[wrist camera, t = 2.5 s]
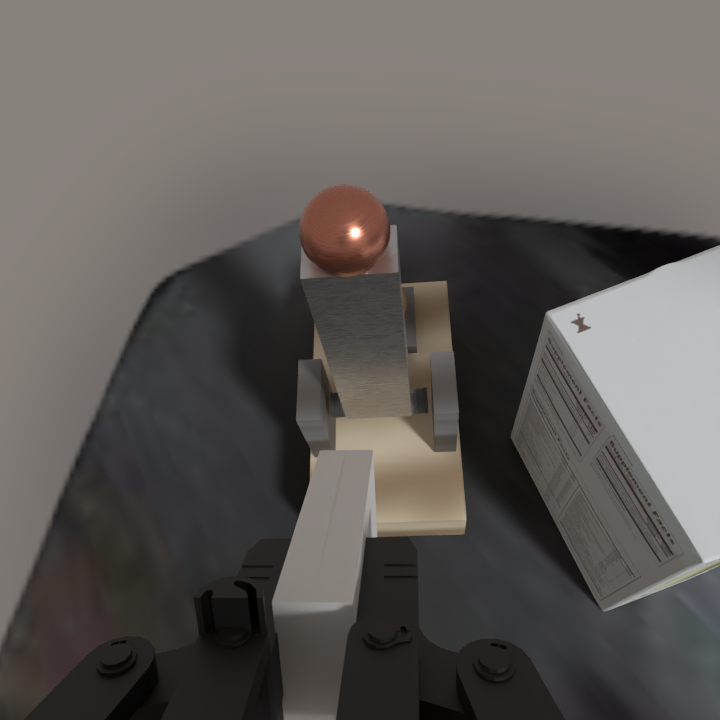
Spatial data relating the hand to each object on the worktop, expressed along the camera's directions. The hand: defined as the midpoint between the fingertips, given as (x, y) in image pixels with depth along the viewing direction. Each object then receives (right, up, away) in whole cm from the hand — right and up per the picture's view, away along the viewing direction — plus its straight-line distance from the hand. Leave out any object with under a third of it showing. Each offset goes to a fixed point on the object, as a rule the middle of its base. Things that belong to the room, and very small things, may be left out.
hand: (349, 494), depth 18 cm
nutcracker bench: (+2, 0, +30) cm, 30 cm away
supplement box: (+19, -5, +26) cm, 33 cm away
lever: (+2, +1, +23) cm, 23 cm away
